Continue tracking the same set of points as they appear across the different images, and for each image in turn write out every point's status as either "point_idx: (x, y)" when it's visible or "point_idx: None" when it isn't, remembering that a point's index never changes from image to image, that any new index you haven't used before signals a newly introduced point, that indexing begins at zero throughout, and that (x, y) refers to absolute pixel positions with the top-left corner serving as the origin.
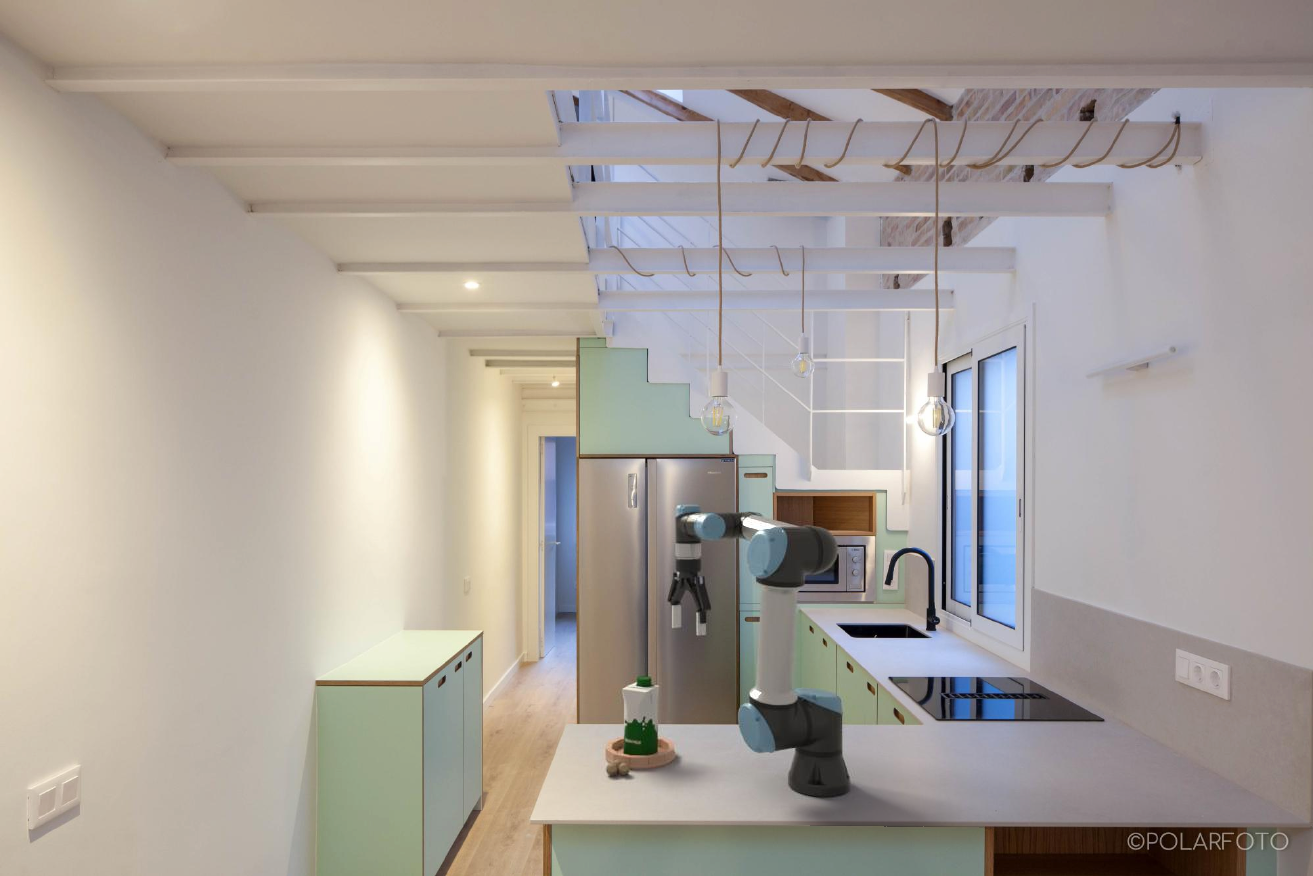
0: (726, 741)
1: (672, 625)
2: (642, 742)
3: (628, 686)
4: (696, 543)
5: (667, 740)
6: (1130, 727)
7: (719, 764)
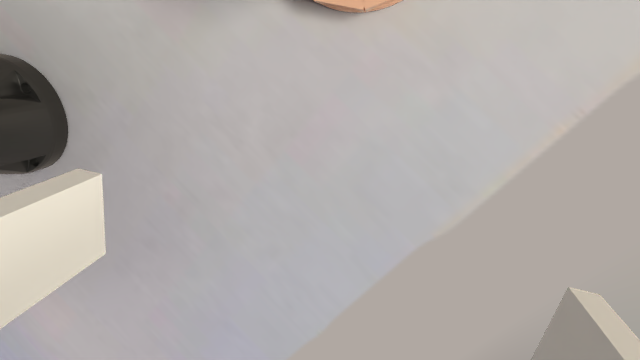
0: (310, 179)
1: (604, 310)
2: None
3: None
4: None
5: (344, 1)
6: None
7: (199, 47)
